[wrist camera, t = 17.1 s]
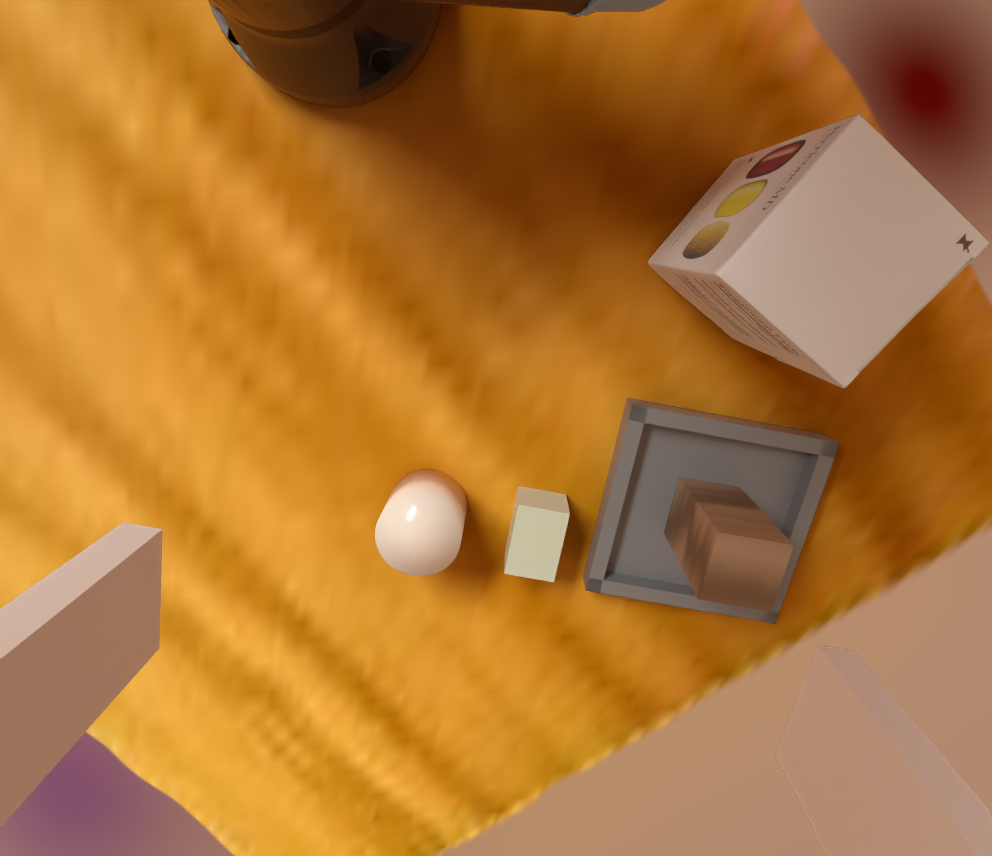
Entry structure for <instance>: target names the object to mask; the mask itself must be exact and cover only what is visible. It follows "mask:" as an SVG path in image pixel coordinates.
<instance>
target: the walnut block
mask: <svg viewBox="0 0 992 856" xmlns="http://www.w3.org/2000/svg"><path fill="white" fill-rule="evenodd" d="M664 535H665V536H666V538H667V540H668V542H669V544H670V546H671V548H672V550H673V552H674V554H675V556H676V558H677V560H678V562H679V563H680V565H681V567H682V569H683V571H684V573H685V575H686V577H687V579H688V581H689V583H690V585H691V587H692V589H693V590H694V592H695V594H696V596H697V598H698V599H699V600H705V601H711V602H717V603H723V604H729V605H734V606H740V607H746V608H752V609H758V610H764V611H770V612H771V611H772V608H773V605H774V602H775V599H776V596H777V593H778V590H779V587H780V584H781V582H782V579H783V576H784V573H785V570H786V567H787V564H788V561H789V558H790V555H791V552H792V550H793V547H794V545H793V544H792V543H791V542H790V540H789V539H788V538H787V537H786V536H785V535H784V534H783V533H782V532H781V531H780V530H779V529H778V528H777V527H776V525H775V524H774V523H773V522H772V521H771V520H770V519H769V518H768V517H767V516H766V515H765V514H764V513H763V511H762V510H761V509H760V508H759V507H758V506H757V505H756V504H755V503H754V502H753V501H752V500H751V499H750V498H749V496H748V495H747V494H746V493H745V492H744V491H743V490H742V489H741V488H740V487H735V486H729V485H723V484H718V483H712V482H706V481H700V480H694V479H689V478H683V477H679V478H678V482H677V486H676V489H675V493H674V497H673V500H672V504H671V508H670V511H669V515H668V519H667V522H666V526H665V530H664Z"/></svg>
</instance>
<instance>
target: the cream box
mask: <svg viewBox="0 0 992 856" xmlns="http://www.w3.org/2000/svg"><path fill="white" fill-rule="evenodd" d="M569 516H570V512H569V507H568V502H567V497H566V494H561V493H555V492H550V491H544V490H539V489H533V488H528V487H522V486H518V490H517V495H516V500H515V505H514V509H513V514H512V519H511V524H510V529H509V534H508V539H507V543H506V548H505V565H504V574H509V575H515V576H520V577H526V578H532V579H537V580H543V581H549V582H554V580H555V576H556V571H557V567H558V563H559V559H560V554H561V550H562V546H563V542H564V537H565V533H566V529H567V525H568V520H569Z"/></svg>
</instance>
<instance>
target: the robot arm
mask: <svg viewBox="0 0 992 856" xmlns="http://www.w3.org/2000/svg"><path fill="white" fill-rule="evenodd" d="M208 1H209V4H210V6H211V9H212V11H213V14H214V16H215V18H216V20H217V22H218V24H219V26H220V28H221V30H222V32H223V33H224V35H225V37H226V38H227V40H228V41H229V43H230V44H231V46H232V47H233V48H234V50H235V51H236V52H237V53H238V55H239V56H240V57H241V58H242V59H243V60H244V61H245V62H246V64H247V65H248V66H249V67H250V68H252V69H253V70H254V71H255V72H256V73H257V74H258V75H260V76H261V77H262V78H264V79H265V80H266V81H268V82H269V83H271V84H272V85H274V86H275V87H277V88H278V89H280V90H281V91H283V92H285V93H286V94H288V95H290V96H292V97H294V98H297V99H299V100H301V101H304V102H307V103H311V104H315V105H320V106H326V107H347V106H354V105H359V104H362V103H366V102H369V101H372V100H374V99H376V98H378V97H381V96H382V95H384V94H386V93H388V92H389V91H391V90H392V89H394V88H395V87H396V86H397V85H399V84H400V83H401V82H402V81H403V80H404V79H405V78H406V77H408V75H409V74H410V73H411V72H412V71H413V70H414V69H415V67H416V66H417V65H418V63H419V62H420V60H421V59H422V57H423V56H424V54H425V52H426V50H427V49H428V47H429V45H430V42H431V40H432V38H433V35H434V33H435V30H436V27H437V23H438V20H439V16H440V11H441V5H442V4H455V5H469V6H484V7H499V8H514V9H529V10H543V11H558V12H564V13H566V14H567V15H570V16H574V17H579V16H580V15H583V16H587V15H589V14H591V13H594V12H640V11H644V10H647V9H650V8H653V7H656V6H657V5H658V4H661V3H663V2H664V1H666V0H208ZM161 563H162V529H158V528H153V527H147V526H141V525H136V524H130V523H124V522H123V523H122V524H120V525H119V526H117V527H116V528H114V529H113V530H112V531H110V532H109V533H107V534H106V535H105V536H103V537H102V538H100V539H99V540H97V541H96V542H95V543H93V544H92V545H90V546H89V547H87V548H86V549H85V550H83V551H82V552H80V553H79V554H78V555H76V556H75V557H73V558H72V559H70V560H69V561H68V562H66V563H65V564H63V565H62V566H60V567H59V568H58V569H56V570H55V571H53V572H52V573H51V574H49V575H48V576H46V577H45V578H43V579H42V580H41V581H39V582H38V583H36V584H35V585H33V586H32V587H31V588H29V589H28V590H26V591H25V592H24V593H22V594H21V595H19V596H18V597H16V598H15V599H14V600H12V601H11V602H9V603H8V604H6V605H5V606H4V607H2V608H1V609H0V827H1V826H2V825H3V824H4V823H5V822H6V821H7V819H8V818H9V817H10V816H11V815H12V814H13V813H14V811H15V810H16V809H17V808H18V807H19V806H20V805H21V804H22V803H23V801H24V800H25V799H26V798H27V797H28V796H29V795H30V793H31V792H32V791H33V790H34V789H35V788H36V787H37V786H38V784H39V783H40V782H41V781H42V780H43V779H44V778H45V777H46V775H47V774H48V773H49V772H50V771H51V770H52V768H54V766H55V765H56V764H57V763H58V762H59V761H60V760H61V759H62V757H63V756H64V755H65V754H66V753H67V752H68V751H69V750H70V748H71V747H72V746H73V745H74V744H75V743H76V741H77V740H78V739H79V738H80V737H81V736H82V735H83V734H84V733H85V731H86V730H87V729H88V728H89V727H90V726H91V725H92V724H93V722H94V721H95V720H96V719H97V718H98V717H99V716H100V715H101V713H102V712H103V711H104V710H105V709H106V708H107V707H108V705H109V704H110V703H111V702H112V701H113V700H114V699H115V698H116V696H117V695H118V694H119V693H120V692H121V691H122V690H123V689H124V687H125V686H126V685H127V684H128V683H129V682H130V681H131V680H132V678H133V677H134V676H135V675H136V674H137V673H138V672H139V671H140V669H141V668H142V667H143V666H144V665H145V664H146V663H147V661H148V660H149V659H150V658H151V657H152V656H153V655H154V654H155V652H156V651H157V650H158V649H159V636H160V599H161ZM775 755H776V757H777V758H778V760H779V762H780V764H781V766H782V768H783V770H784V772H785V774H786V776H787V778H788V780H789V782H790V784H791V786H792V788H793V790H794V792H795V794H796V796H797V798H798V799H799V801H800V803H801V805H802V807H803V809H804V811H805V813H806V815H807V817H808V819H809V821H810V823H811V825H812V827H813V829H814V831H815V832H816V835H817V837H818V839H819V841H820V842H821V844H822V846H823V848H824V850H825V852H826V854H827V856H992V814H991V813H990V812H989V810H988V809H987V808H986V807H985V806H984V805H983V803H982V802H981V801H980V800H979V798H978V797H977V796H976V795H975V794H974V793H973V791H972V790H971V789H970V788H969V787H968V785H967V784H966V783H965V782H964V781H963V779H962V778H961V777H960V776H959V775H958V773H957V772H956V771H955V770H954V769H953V768H952V766H951V765H950V764H949V763H948V762H947V760H946V759H945V758H944V757H943V756H942V754H941V753H940V752H939V751H938V750H937V748H936V747H935V746H934V745H933V744H932V743H931V741H930V740H929V739H928V738H927V737H926V735H925V734H924V733H923V732H922V731H921V729H920V728H919V727H918V726H917V725H916V723H915V722H914V721H913V720H912V719H911V717H910V716H909V715H908V714H907V713H906V711H905V710H904V709H903V708H902V707H901V706H900V704H899V703H898V702H897V701H896V700H895V698H894V697H893V696H892V695H891V694H890V692H889V691H888V690H887V689H886V688H885V686H884V685H883V684H882V683H881V682H880V681H879V679H878V678H877V677H876V676H875V675H874V673H873V672H872V671H871V670H870V669H869V667H868V666H867V665H866V664H865V663H864V661H863V660H862V659H861V658H860V657H859V655H858V654H857V653H856V652H855V651H851V650H846V649H840V648H835V647H829V646H823V645H817V647H816V650H815V652H814V655H813V658H812V660H811V663H810V665H809V668H808V670H807V673H806V676H805V678H804V681H803V683H802V686H801V689H800V691H799V694H798V696H797V699H796V702H795V704H794V707H793V709H792V712H791V715H790V717H789V720H788V723H787V725H786V728H785V730H784V733H783V735H782V738H781V740H780V743H779V746H778V748H777V751H776V754H775Z"/></svg>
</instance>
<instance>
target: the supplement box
mask: <svg viewBox="0 0 992 856" xmlns="http://www.w3.org/2000/svg"><path fill="white" fill-rule="evenodd" d="M989 245H990V243H989V242H988V241H987V240H986V239H985V238H984V237H983V236H982V235H981V234H980V233H979V232H978V231H977V230H976V229H975V228H974V227H973V226H972V225H971V224H970V223H969V222H968V221H967V220H966V219H965V218H964V217H963V216H962V215H961V214H960V213H959V212H958V211H957V210H956V209H955V208H954V207H953V206H952V205H951V204H950V203H949V202H948V201H947V200H946V199H945V198H944V197H943V196H942V195H941V194H940V193H939V192H938V191H937V190H936V189H935V188H934V187H933V186H932V185H931V184H930V183H929V182H928V181H927V180H926V179H925V178H924V177H923V176H922V175H921V174H920V173H918V171H917V170H916V169H915V168H914V167H913V166H912V165H911V164H909V162H908V161H907V160H905V158H904V157H903V156H902V155H901V154H900V153H899V152H898V151H897V150H896V149H895V148H893V147H892V146H891V145H890V143H889V142H888V141H887V140H886V139H885V138H884V137H883V136H882V135H881V134H880V133H878V132H877V131H876V130H875V129H874V128H873V127H872V126H871V125H870V124H869V123H868V122H867V121H866V120H865V119H864V118H863V117H862V116H861V115H859V114H858V115H854V116H851V117H849V118H846V119H843V120H841V121H838V122H835V123H833V124H830V125H828V126H825V127H822V128H819V129H817V130H814V131H811V132H808V133H806V134H803V135H800V136H798V137H795V138H792V139H790V140H787V141H784V142H781V143H778V144H776V145H773V146H770V147H767V148H765V149H762V150H759V151H756V152H754V153H751V154H748V155H745V156H743V157H740V158H737V159H735V160H734V161H733V162H732V163H731V164H730V165H729V166H728V167H727V169H726V170H725V171H724V172H723V173H722V174H721V176H720V177H719V178H718V179H717V180H716V181H715V183H714V184H713V185H712V186H711V187H710V188H709V190H708V191H707V192H706V193H705V194H704V195H703V196H702V198H701V199H700V200H699V201H698V202H697V203H696V205H695V206H694V207H693V208H692V209H691V210H690V212H689V213H688V214H687V215H686V216H685V218H684V219H683V220H682V221H681V222H680V223H679V225H678V226H677V227H676V228H675V229H674V230H673V232H672V233H671V234H670V235H669V236H668V237H667V239H666V240H665V241H664V242H663V243H662V244H661V246H660V247H659V248H658V249H657V250H656V252H655V253H654V254H653V255H652V256H651V258H650V259H649V260H648V265H649V266H650V267H651V268H652V269H653V270H654V271H655V272H656V273H657V274H658V275H659V276H660V277H661V278H662V279H663V280H665V281H666V282H667V283H668V284H669V285H670V286H671V287H672V288H674V289H675V290H676V291H677V292H678V293H679V294H681V295H682V296H683V297H684V298H685V299H686V300H688V301H689V302H690V303H691V304H692V305H693V306H695V307H696V308H697V309H698V310H699V311H700V312H702V313H703V314H704V315H705V316H706V317H708V318H709V319H710V320H711V321H712V322H713V323H715V324H716V325H717V326H718V327H719V328H720V329H721V330H723V331H724V332H725V333H726V334H727V335H728V336H730V337H731V338H732V339H734V340H736V341H738V342H740V343H743V344H745V345H747V346H749V347H752V348H754V349H756V350H758V351H760V352H763V353H765V354H767V355H770V356H772V357H775V358H776V359H777V360H779V361H781V362H783V363H786V364H788V365H790V366H793V367H796V368H798V369H800V370H803V371H805V372H807V373H809V374H811V375H814V376H816V377H818V378H820V379H822V380H825V381H827V382H829V383H831V384H834V385H836V386H838V387H841V388H846V387H847V386H848V385H849V384H850V383H851V382H852V381H853V380H854V379H855V378H856V376H857V375H858V374H859V373H860V372H861V371H862V370H863V369H864V368H865V367H866V366H867V365H868V364H869V363H870V362H871V361H872V360H873V359H874V358H875V357H876V355H877V354H878V353H879V352H880V351H881V350H882V349H883V348H884V347H885V346H886V345H887V344H888V343H889V342H890V341H891V340H892V339H893V338H894V337H895V336H896V335H897V334H898V333H899V332H900V331H901V330H902V329H903V328H904V327H905V326H906V325H907V324H908V323H909V322H910V321H911V320H912V319H913V318H914V317H915V316H916V315H917V314H918V313H919V312H920V311H921V310H922V309H923V308H924V307H925V306H926V305H927V304H928V303H929V302H930V301H931V300H932V299H933V298H934V297H935V296H936V295H937V294H938V293H939V292H940V291H941V290H942V289H943V288H944V287H945V286H947V285H948V284H949V283H950V282H951V281H952V280H953V279H954V278H955V277H956V276H957V275H958V274H959V273H960V272H961V271H962V270H963V269H964V268H965V267H966V266H968V265H969V264H970V263H971V262H972V261H973V260H974V259H975V258H976V257H977V256H979V255H980V254H981V253H982V252H983V251H984V250H985V249H987V247H988V246H989Z"/></svg>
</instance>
